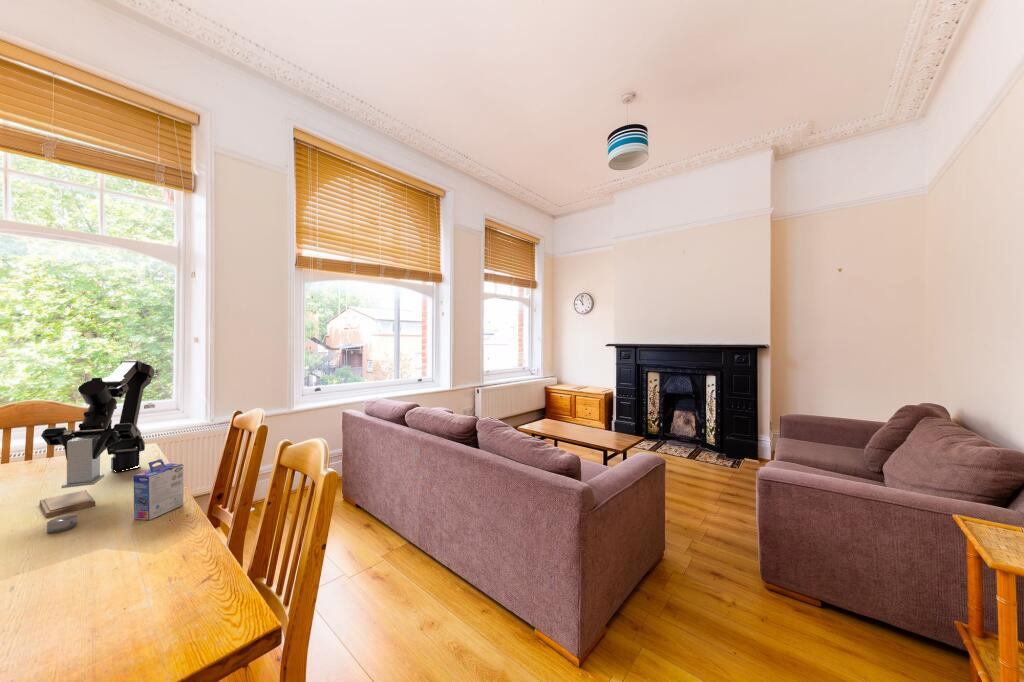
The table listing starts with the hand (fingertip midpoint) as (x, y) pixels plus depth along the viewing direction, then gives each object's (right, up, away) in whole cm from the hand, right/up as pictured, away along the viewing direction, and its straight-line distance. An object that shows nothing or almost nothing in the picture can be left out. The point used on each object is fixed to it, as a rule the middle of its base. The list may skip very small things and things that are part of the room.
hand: (81, 459), depth 109 cm
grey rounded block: (+9, -14, -12) cm, 21 cm away
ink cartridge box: (+24, -14, -2) cm, 28 cm away
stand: (-4, -13, 0) cm, 14 cm away
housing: (-1, -7, +1) cm, 7 cm away
